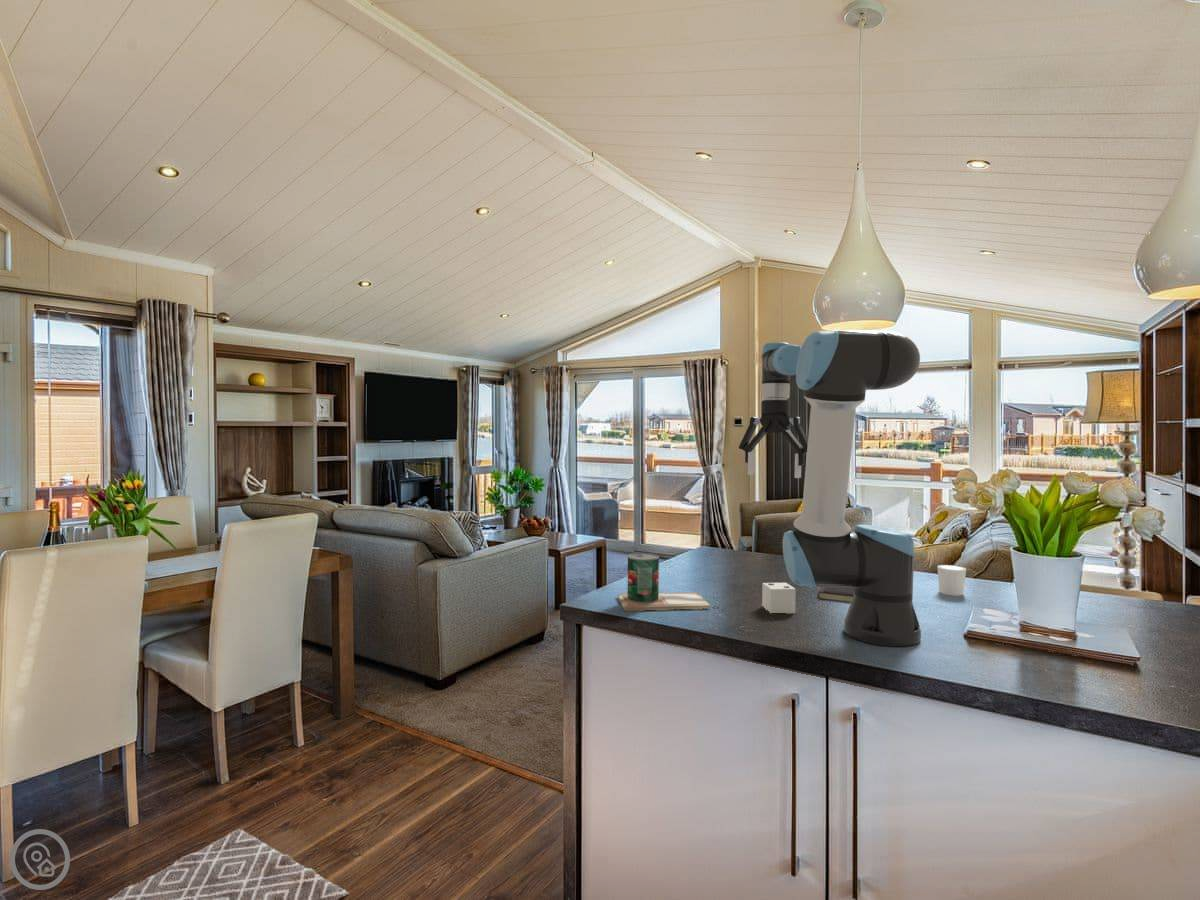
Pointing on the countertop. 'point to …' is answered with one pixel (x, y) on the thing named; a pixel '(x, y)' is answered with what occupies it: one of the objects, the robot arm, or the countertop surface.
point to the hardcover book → (837, 593)
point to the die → (778, 597)
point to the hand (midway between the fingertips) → (773, 476)
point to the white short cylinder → (951, 579)
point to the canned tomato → (643, 578)
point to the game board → (667, 602)
